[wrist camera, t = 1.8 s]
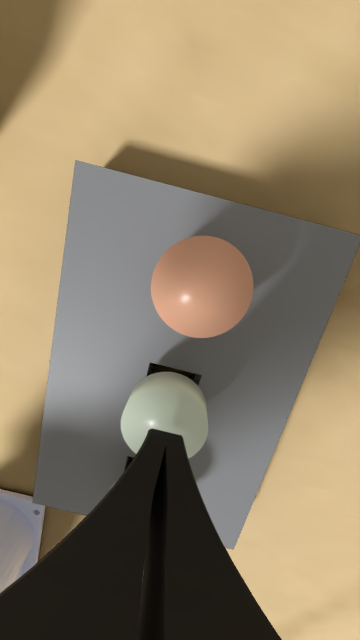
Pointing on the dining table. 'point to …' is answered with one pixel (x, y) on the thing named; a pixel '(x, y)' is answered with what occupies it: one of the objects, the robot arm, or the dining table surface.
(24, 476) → the dining table surface
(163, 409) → the button sage
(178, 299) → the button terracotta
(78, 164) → the panel
